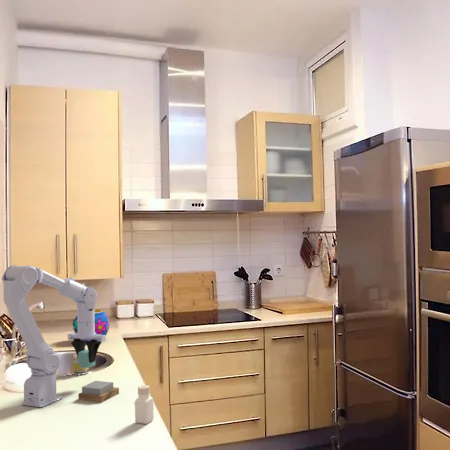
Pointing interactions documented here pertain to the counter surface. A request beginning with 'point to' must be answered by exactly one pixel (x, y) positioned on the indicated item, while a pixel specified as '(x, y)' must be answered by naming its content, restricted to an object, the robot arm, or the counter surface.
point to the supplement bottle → (76, 366)
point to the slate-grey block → (97, 387)
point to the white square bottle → (144, 405)
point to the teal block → (84, 359)
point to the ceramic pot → (96, 323)
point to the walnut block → (99, 396)
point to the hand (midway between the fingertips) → (86, 361)
